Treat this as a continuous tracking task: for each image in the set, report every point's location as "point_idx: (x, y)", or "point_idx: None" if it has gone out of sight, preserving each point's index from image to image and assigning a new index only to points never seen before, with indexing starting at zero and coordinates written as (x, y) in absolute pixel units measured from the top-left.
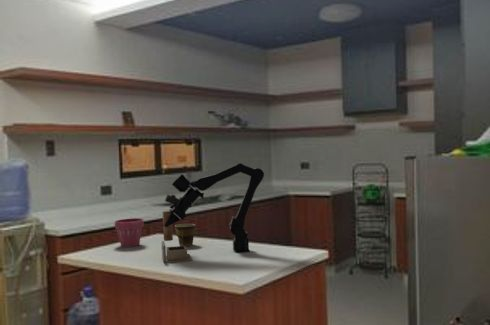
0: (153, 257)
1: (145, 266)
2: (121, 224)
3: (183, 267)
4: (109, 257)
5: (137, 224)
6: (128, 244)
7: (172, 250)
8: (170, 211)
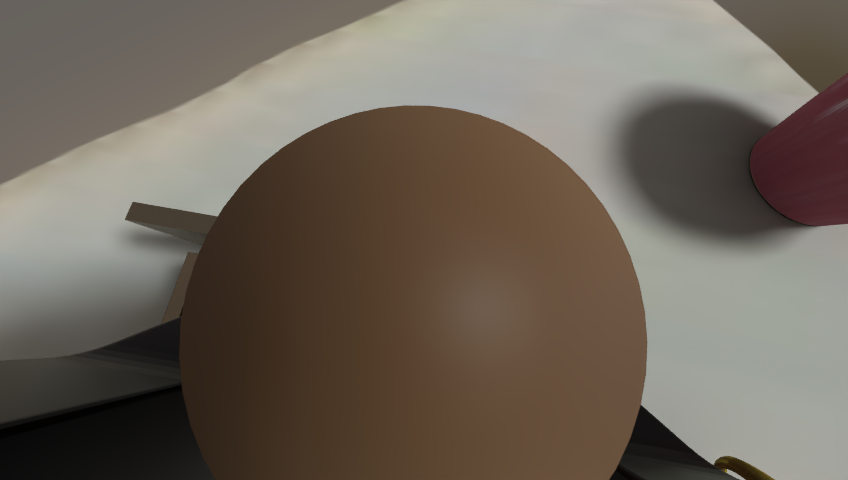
0: None
1: (207, 141)
2: None
3: (30, 307)
4: (509, 44)
5: None
6: (760, 152)
7: (175, 286)
8: (202, 451)
